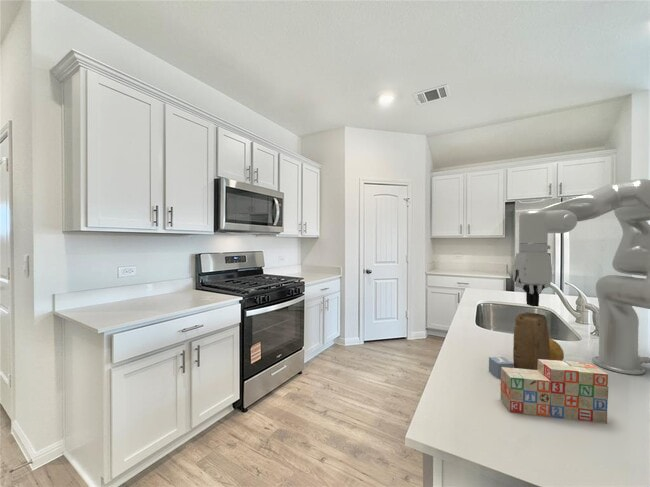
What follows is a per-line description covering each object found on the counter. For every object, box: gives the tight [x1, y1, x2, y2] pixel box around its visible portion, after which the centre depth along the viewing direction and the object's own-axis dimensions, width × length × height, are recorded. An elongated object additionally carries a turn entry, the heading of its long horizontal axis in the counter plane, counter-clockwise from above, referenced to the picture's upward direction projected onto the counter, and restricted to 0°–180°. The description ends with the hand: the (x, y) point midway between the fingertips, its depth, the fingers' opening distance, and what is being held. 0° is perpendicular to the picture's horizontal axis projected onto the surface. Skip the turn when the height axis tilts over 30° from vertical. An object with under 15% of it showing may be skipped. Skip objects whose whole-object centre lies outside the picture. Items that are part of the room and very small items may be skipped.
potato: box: [549, 337, 565, 361], centre depth 104 cm, size 10×13×9 cm
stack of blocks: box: [500, 359, 609, 424], centre depth 74 cm, size 21×6×12 cm, turn 78°
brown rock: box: [512, 311, 550, 370], centre depth 93 cm, size 11×8×20 cm
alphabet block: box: [488, 356, 514, 380], centre depth 94 cm, size 5×5×5 cm
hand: (532, 305), depth 93 cm, fingers closed
